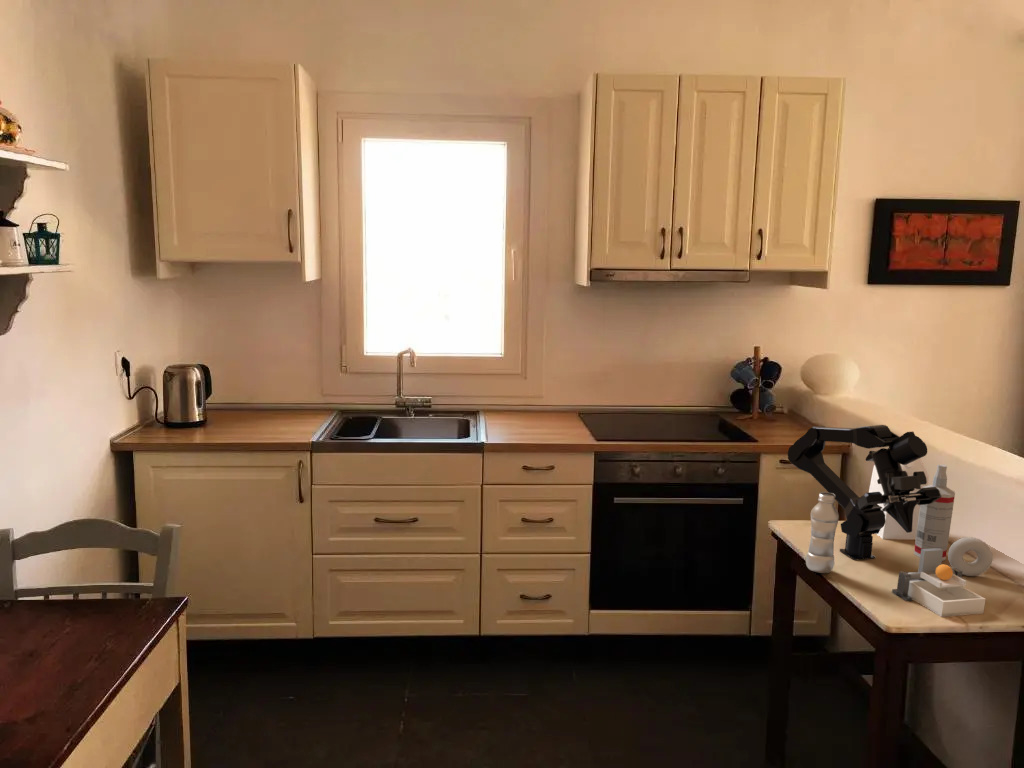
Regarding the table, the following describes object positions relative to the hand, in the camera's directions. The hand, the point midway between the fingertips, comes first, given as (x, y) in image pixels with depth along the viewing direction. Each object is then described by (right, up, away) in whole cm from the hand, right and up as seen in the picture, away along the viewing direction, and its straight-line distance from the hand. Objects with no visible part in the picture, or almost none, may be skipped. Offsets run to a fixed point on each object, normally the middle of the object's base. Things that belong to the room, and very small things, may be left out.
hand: (909, 532), depth 196 cm
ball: (+3, -7, -10) cm, 13 cm away
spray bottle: (+15, -10, +20) cm, 27 cm away
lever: (+2, -13, -6) cm, 14 cm away
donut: (+18, -12, +7) cm, 23 cm away
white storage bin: (+3, -15, -10) cm, 18 cm away
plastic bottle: (-20, -11, +6) cm, 23 cm away
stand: (+2, -14, -6) cm, 15 cm away
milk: (+13, -7, +37) cm, 40 cm away
